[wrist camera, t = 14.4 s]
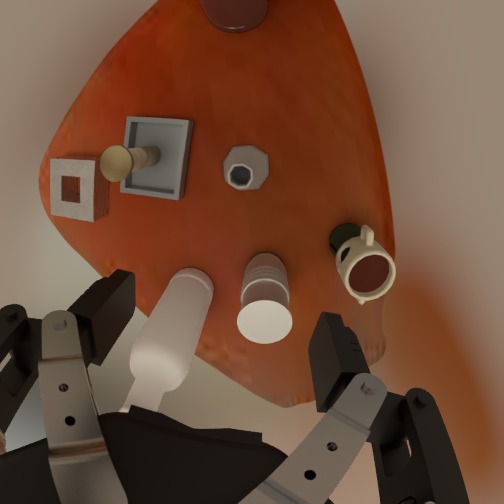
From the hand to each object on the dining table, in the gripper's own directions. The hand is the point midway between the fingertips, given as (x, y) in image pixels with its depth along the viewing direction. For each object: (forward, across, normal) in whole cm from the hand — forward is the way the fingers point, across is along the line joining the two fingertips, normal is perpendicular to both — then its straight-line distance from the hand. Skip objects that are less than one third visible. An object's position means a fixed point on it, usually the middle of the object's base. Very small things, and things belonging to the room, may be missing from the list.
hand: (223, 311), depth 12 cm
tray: (+34, +16, -2) cm, 37 cm away
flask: (+34, +2, -2) cm, 34 cm away
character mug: (+34, -16, +6) cm, 38 cm away
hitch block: (+34, +30, +4) cm, 45 cm away
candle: (+34, -4, +14) cm, 37 cm away
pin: (+33, +17, -2) cm, 37 cm away
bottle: (+34, +7, +20) cm, 40 cm away
